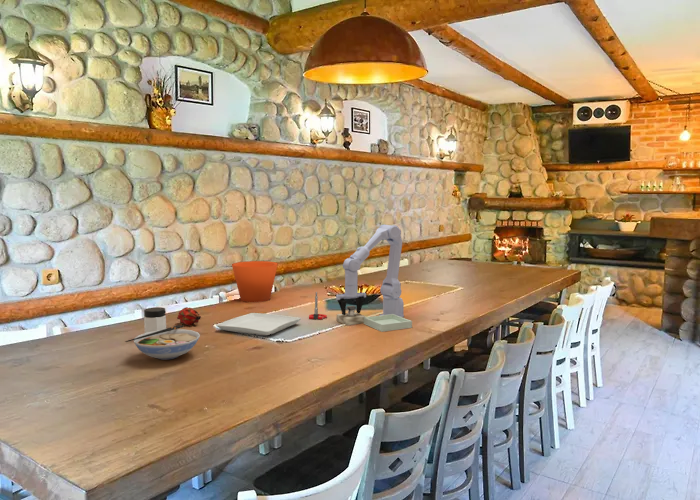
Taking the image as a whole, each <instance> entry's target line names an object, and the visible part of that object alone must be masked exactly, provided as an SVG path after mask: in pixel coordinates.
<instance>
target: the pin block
mask: <svg viewBox="0 0 700 500" xmlns="http://www.w3.org/2000/svg"><path fill="white" fill-rule="evenodd" d="M364 317H367V316H366V315H363V314H361V313H357V311H354V316H351V317H349V316H348V312H346V314H345V315H342V313H337V314H336V321H337V322H339V323H341V324H343V325H345V326H353V325H361V324H364Z"/></svg>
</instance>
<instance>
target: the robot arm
mask: <svg viewBox="0 0 700 500" xmlns="http://www.w3.org/2000/svg"><path fill="white" fill-rule="evenodd" d="M384 240H386V242H387V243H388V244H389V245H390V246H389V253H388V261H387V270H386V277H385V278H384V279H383V280H382V285H381V286H380V288H379V289H380V294H381V295H382V299H383V300H382V313H380V314H379V316H380V315H388V314H394V315H397V316H400V317H403V318H405V315H404V311H405V310H404V309H405V308H404V306H405V304H404V300H403V298H402V297H401V295H402V288H401V282H400V280H399V272H400V265H401V255H402V248H403V239H402V230H401V229H400V228H399V227H398V226H397V225H395V224H381V225H379V227H378V228H376V231H375V232H374V234H373V235H372V237H370V238H369V239H368V241H367V242H366V243H365V245H364V246H362V245H361V246H359V247H357V248H356V250H355V252H354V253H352V254H351V255H350V256H349V257H347V258H346V259H344V261H343V264H342V268H343V270H344V293H342V294H336V295H335V298H336V299H335V300H336V302H337V303H338V305H339V308H340V311H341V314H342V315H345V314H346V313H347V311H346V310H347V302H348V301H347V300H348V299H349V300H351V299H355V304H356V313H359V314H361V311H362V307H363V305H364V303H365V301H366V298H367V293H366V292H358V290H359V289H358V286H359V285H358V278H359V277H358V274H359V273H358V271H360V269H361V265H362V263H364V261H365V260H366V259H367V258H368V257H369V256H370V251H372V250H373V248H375V247H376V246H377V245H378V244H379V243H380V242H381V241H384Z"/></svg>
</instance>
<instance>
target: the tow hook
mask: <svg viewBox="0 0 700 500" xmlns="http://www.w3.org/2000/svg"><path fill="white" fill-rule="evenodd" d="M318 299H319V296H318V291H315V297H314V309H313V310H314V313H312V314H309V315H308V320H316V319H318V320H320V321H323V320H324V319H326V318H328V315H326V314H324V313H319V307H318V306H319V305H318V304H319V303H318V301H319V300H318Z"/></svg>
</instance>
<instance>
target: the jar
mask: <svg viewBox="0 0 700 500" xmlns="http://www.w3.org/2000/svg"><path fill="white" fill-rule="evenodd" d="M166 311H167V310H166V308H165V307H161V306H156V307H154V306H153V307H148V308H145V309H144V310H143V317H144V318H143V321H144V322H143V325H144V333H147V332H152V331H158V330H164V329H167V315H166Z"/></svg>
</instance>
